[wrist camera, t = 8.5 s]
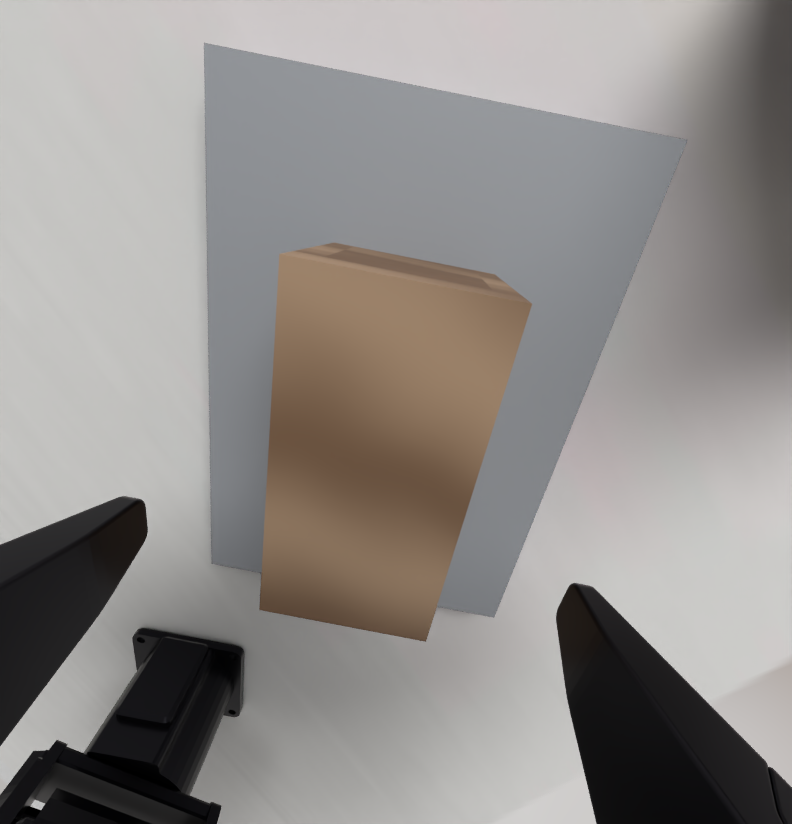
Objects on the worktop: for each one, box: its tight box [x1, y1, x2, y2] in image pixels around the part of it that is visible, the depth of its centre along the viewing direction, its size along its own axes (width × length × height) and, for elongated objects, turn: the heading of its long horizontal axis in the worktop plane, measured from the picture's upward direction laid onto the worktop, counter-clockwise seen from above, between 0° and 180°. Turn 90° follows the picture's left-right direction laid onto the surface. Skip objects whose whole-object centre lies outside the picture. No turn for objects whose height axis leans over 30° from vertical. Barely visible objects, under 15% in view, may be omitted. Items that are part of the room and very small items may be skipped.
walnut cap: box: [260, 243, 532, 641], centre depth 13 cm, size 11×5×6 cm, turn 170°
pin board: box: [204, 43, 687, 617], centre depth 15 cm, size 20×14×5 cm
